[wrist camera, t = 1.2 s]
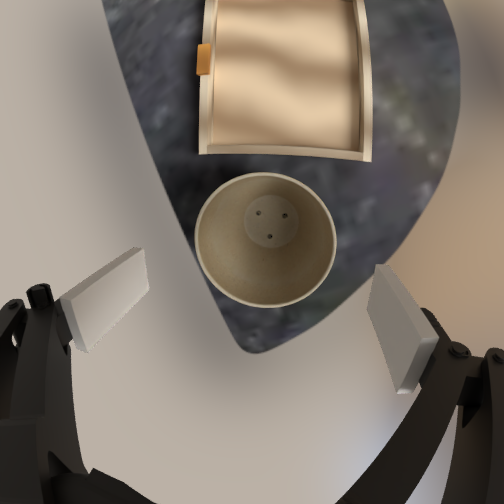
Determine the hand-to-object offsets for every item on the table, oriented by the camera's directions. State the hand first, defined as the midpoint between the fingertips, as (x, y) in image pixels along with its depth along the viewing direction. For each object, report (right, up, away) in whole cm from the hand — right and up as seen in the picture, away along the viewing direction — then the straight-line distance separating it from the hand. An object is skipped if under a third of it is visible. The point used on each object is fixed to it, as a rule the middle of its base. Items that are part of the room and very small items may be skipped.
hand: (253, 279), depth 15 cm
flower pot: (+2, +4, +11) cm, 12 cm away
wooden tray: (+3, +20, +5) cm, 21 cm away
